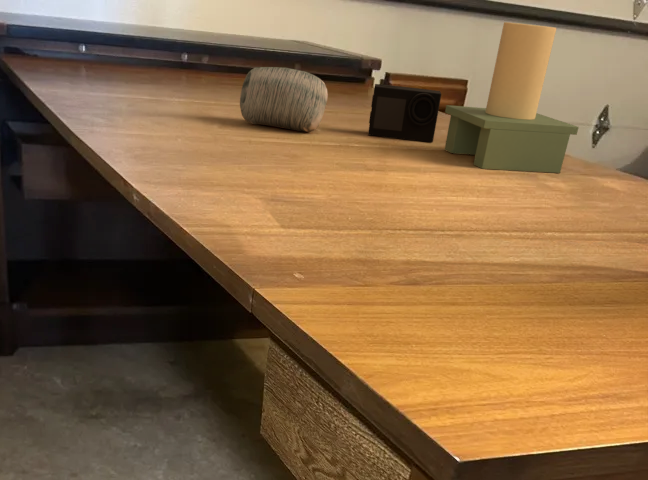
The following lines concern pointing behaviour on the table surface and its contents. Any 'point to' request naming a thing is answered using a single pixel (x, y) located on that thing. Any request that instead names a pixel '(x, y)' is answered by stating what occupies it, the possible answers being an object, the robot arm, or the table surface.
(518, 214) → the table surface
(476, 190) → the table surface
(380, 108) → the digital camera
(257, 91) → the grey yarn skein
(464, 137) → the stand
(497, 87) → the tan upright cylinder
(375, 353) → the table surface
